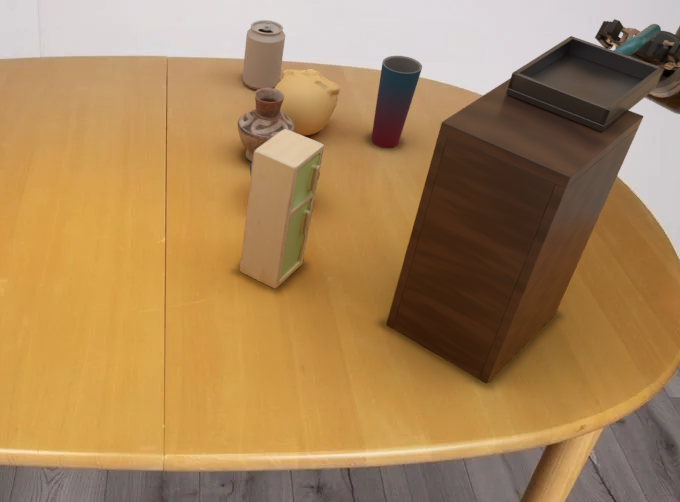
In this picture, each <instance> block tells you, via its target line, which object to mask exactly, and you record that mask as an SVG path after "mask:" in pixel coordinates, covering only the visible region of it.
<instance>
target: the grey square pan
mask: <svg viewBox="0 0 680 502" xmlns="http://www.w3.org/2000/svg"><path fill="white" fill-rule="evenodd" d="M661 31H662V28H661V26H660V25H659V24H657V23H651V24H649V25H648V26H647V27H645V28H644V29H642V30H640V32H639V33H638V34H637V35H634V36H633V37H632V38H631V39H629V40H628V41H626V42H625V43H624V44H622V45H621V46H619V47H618V48H616V47H615V48H616V49H614V50H612V49H607V48H605V47H603V46H602V45H599V44H596V43H592V42H590V41H587V40H584V39H581V38H578V37H575V36H572V35H570V36H569V37H567V38H565V39H564V40H562V41H561V42H559V43H557V44H556V45H554V46H553V47H551V48H550V49H548V50H547V51H545V52H543V53H541V54H540V55H539V56H537V57H535V58H534V59H532V60H530V61H529V62H527V63H526V64H524V65H523V66H521V67H520V68H518V69H516V70H515V71H513V72H512V73H511V76H510V78H511V79H510V78H509V79H510V82H509V85H508V89H507V92H506V94H508V95H510V96H513V97H515V98H518V99H520V100H523V101H525V102H528V103H530V104H533V105H535V106H538V107H540V108H543V109H545V110H548V111H550V112H553V113H556V114H558V115H561V116H563V117H566V118H568V119H571V120H573V121H576V122H578V123H581V124H583V125H586V126H588V127H591V128H593V129H596V130H598V131H601V132H602V131H603V130H605V129H606V128H607V127H608V126H610V125H611V124H612V123H613V122H615V121H616V120H617V119H618V118H620V117H621V116H622V115H623V114H625V113H626V112H627V111H628V110H629V111H631V109H632V108H633V107H635V106H636V105H638V103H639V102H641V101H642V100H643V99H645V98H644V97H646V96H647V95H648V94H649V93H651V92H652V91H653V90H654V89H655V88H656V86H657V83H658V82H659V80H660V77H661V75H662V73H663V71H664V68H662V67H659V66H656V65H653V64H650V63H647V62H644V61H642V60H639V59H636V58H633V57H630V55H632V54H633V53H635V52H636V51H637V50H639V49H640V48H641V47H643V46H644V45H646V44H647V43H648V42H650V41H651V40H653V39H654V38H655V37H657V36H658V35H659V34H660V32H661Z"/></svg>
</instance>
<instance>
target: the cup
mask: <svg viewBox="0 0 680 502" xmlns="http://www.w3.org/2000/svg"><path fill="white" fill-rule="evenodd" d="M422 69H423V65H422V63H421V62H420V61H418V60H417V59H415V58H412V57H409V56H406V55H405V56H404V55H390V56H387V57H385V58H384V59H383V60H382V64H381V69H380V75H379V76H380V78H379V82H378V90H377V97H376V104H375V111H374V118H373V125H372V132H371V137H370V139H371V140H370V141H371V142H372V143H373V144H374V145H376V146H378V147H380V148H386V149H390V148H391V149H392V148H395V147H397V146H398V145H399V143H400V139H401V138H402V137H401V136H402V133H403V130H404V127H405V123H406V121H407V118H408V114H409V111H410V108H411V104H412V101H413V98H414V95H415V93H416V89H417V85H418V83H419V79H420V76H421V73H422Z"/></svg>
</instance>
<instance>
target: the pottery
mask: <svg viewBox="0 0 680 502" xmlns="http://www.w3.org/2000/svg"><path fill="white" fill-rule="evenodd" d="M274 88H275V87H274ZM274 88H262V89H259V90H255V92H254V101H255V108H254V109H252V110H250V111H247V112H246V113H244V114H242V115H241V116H239V118H238V120H237V130H238V134H239V138H240V142H241V143H242V145H243V146H244V148H245V149H246V152H245V157H246V159H247V160H248V161H250V165H249V175H250V177H249V178H251V170H252V162H253V154H254V151H255V150H256V149H257V148H258V147H260V146H261V145H262V144H264V143H265V142H266V141H268V140H269V139H270V138H272V137H273V136H274V135H276V134H277V133H278V132H280V131H281V130H284V129H287V130H290V131H292V132H294V130H295V125H294V123H293V121H292V120H291V119H290V118H289V117H288V116H287V115H286V114H284V113H283V112H281V111H280V108H281V105H282V102H283V100H284V94H283V93H282V92H281V91H279V90H277V89H274ZM320 174H321V171H320V172H319V177H318V180H319V179H320Z"/></svg>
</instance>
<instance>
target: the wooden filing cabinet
mask: <svg viewBox="0 0 680 502" xmlns="http://www.w3.org/2000/svg"><path fill="white" fill-rule="evenodd" d="M510 79H511V77H510V78H507V80H505V81H504V82H502V83H501V84H499V85H497V86H495V87H494V88H493V89H491V90H489V91H488V92H486V93H485V94H483V95H481V96H480V97H479V98H477V99H476V100H474V101H472V102H471V103H469V104H468V105H465V106H464V107H463V108H461V109H460V110H458V111H457V112H455V113H453V114H452V115H450V116H449V117H447V118H446V119H444V120H442V121H441V124H440V127H439V131H438V135H437V138H436V141H435V145H434V148H433V153H432V156H431V159H430V164H429V167H428V171H427V174H426V178H425V180H424V181H425V182H424V184H423V188H422V189H423V190H422V192H421V196H420V200H419V204H418V207H417V210H416V215H415V218H414V221H413V225H412V229H411V233H410V235H409V240H408V244H407V247H406V251H405V254H404V258H403V261H402V265H401V269H400V273H399V276H398V280H397V282H396V283H397V284H396V286H395V287H396V288H395V290H394V295H393V298H392V302H391V305H390V309H389V313H388V316H387V320H386V323H385V324H386V326H388V327H389V328H390V329H393V330H394V331H396V332H398V333H399V334H401V335H403V336H405V337H406V338H408V339H410V340H411V341H413V342H415V343H417V344H418V345H420V346H422V347H424V348H426V349H427V350H429V351H430V352H432V353H434V354H436V355H438V356H439V357H441V358H443V360H444V359H445V360H446V361H448V362H449V363H451V364H453V365H455V366H457V367H458V368H460V369H462V370H464V371H466V372H467V373H468V374H470V375H471V376H473V377H475V378H477V379H478V380H481V381H482V382H484V383H486V384H488V383H489V382H490V381H491V380H492V379H493V378H494V377H495V376H496V375H497V374H498V373H499V372H500V371H501V370H502V369H503V368H504V367H505V366H506V365H507V364H508V363H509V362H510V361H511V360H512V359H513V358H514V357H515V356H516V355H517V354H518V352H520V351H521V350H522V348H523V347H525V346H526V345H527V344H528V343H529V341H531V339H532V338H533V337H534V336H535V335H537V334H538V333H539V331H540V330H542V328H544V327H545V325H546V324H548V322H550V321H551V319H553V317H555V315H556V313H557V311H558V310H559V307H560V305H561V302H562V300H563V297H564V295H565V294H566V291H567V289H568V287H569V284H570V282H571V280H572V278H573V276H574V273H575V272H576V268H577V266H578V264H579V262H580V259H581V257H582V255H583V253H584V251H585V248H586V246H587V244H588V242H589V240H590V237H591V236H592V233H593V230H594V228H595V226H596V224H597V221H598V219H599V217H600V216H601V213H602V212H603V211H602V210H603V208H604V206H605V204H606V202H607V199H608V198H609V195H610V193H611V190H612V188H613V186H614V184H615V181H616V180H617V177H618V175H619V172H620V171H621V168H622V166H623V164H624V161H625V159H626V158H627V154H628V152H629V150H630V148H631V146H632V143H633V141H634V139H635V136H636V135H637V132H638V130H639V127H640V125H641V123H642V121H643V118H644V115H642V114H639V113H637V112H634V111H631V110H628V111H627V112H626V113H625V114H623V115H622V116H621V117H620V118H618V119H617V120H616V121H615V122H613V123H612V124H611V125H610V126H608V127H607V128H606V129H605V130H603V131H602V132H601V131H598V130H596V129H593V128H591V127H588V126H586V125H583V124H581V123H578V122H576V121H573V120H571V119H568V118H566V117H563V116H561V115H558V114H556V113H553V112H550V111H548V110H545V109H543V108H540V107H538V106H535V105H533V104H530V103H528V102H525V101H523V100H520V99H518V98H515V97H513V96H510V95H508V94H506V92H507V89H508V85H509V82H510Z"/></svg>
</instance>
